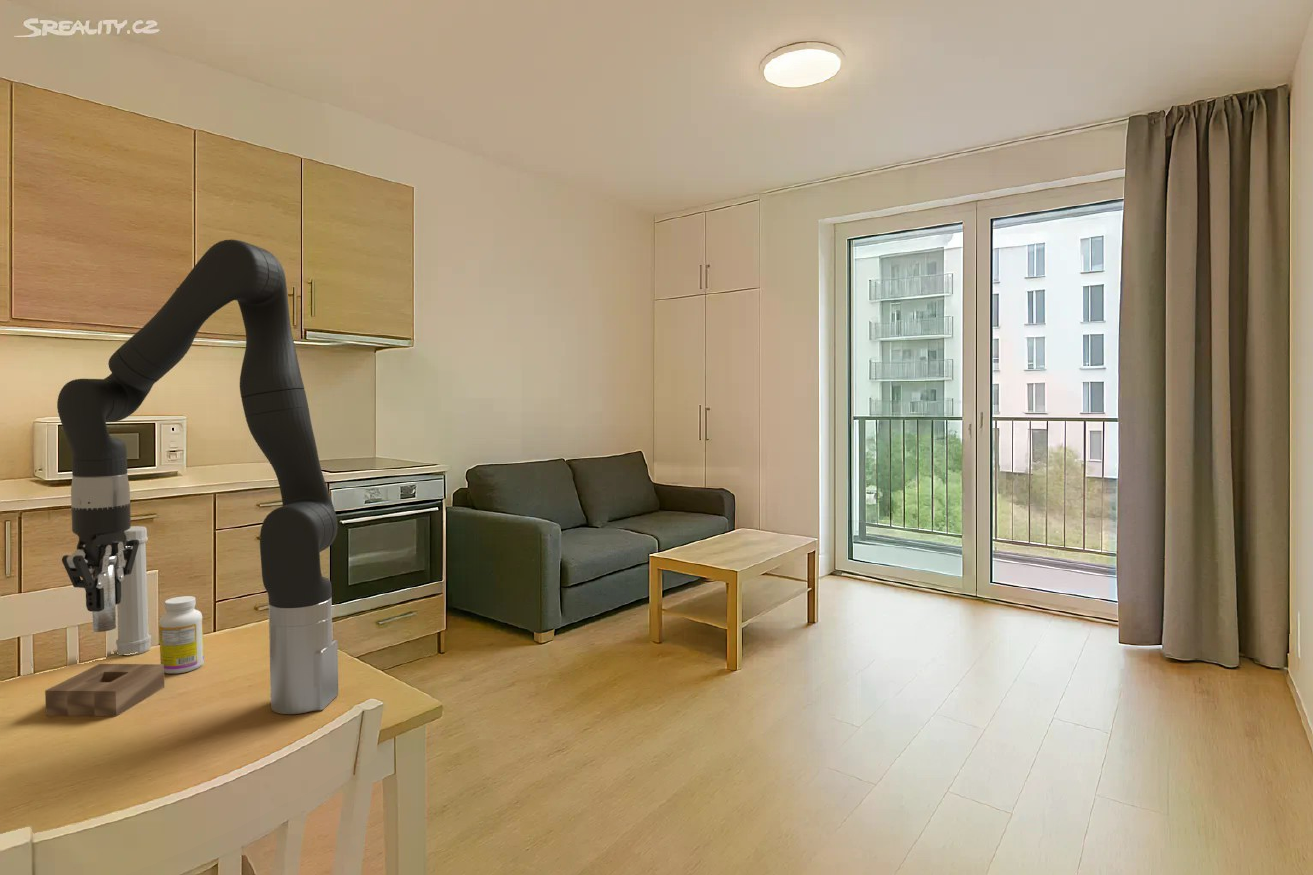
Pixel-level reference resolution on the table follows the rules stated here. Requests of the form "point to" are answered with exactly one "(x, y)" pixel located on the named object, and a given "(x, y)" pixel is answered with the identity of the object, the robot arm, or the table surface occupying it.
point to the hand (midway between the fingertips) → (104, 606)
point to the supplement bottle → (181, 636)
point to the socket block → (104, 690)
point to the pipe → (134, 601)
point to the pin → (106, 600)
